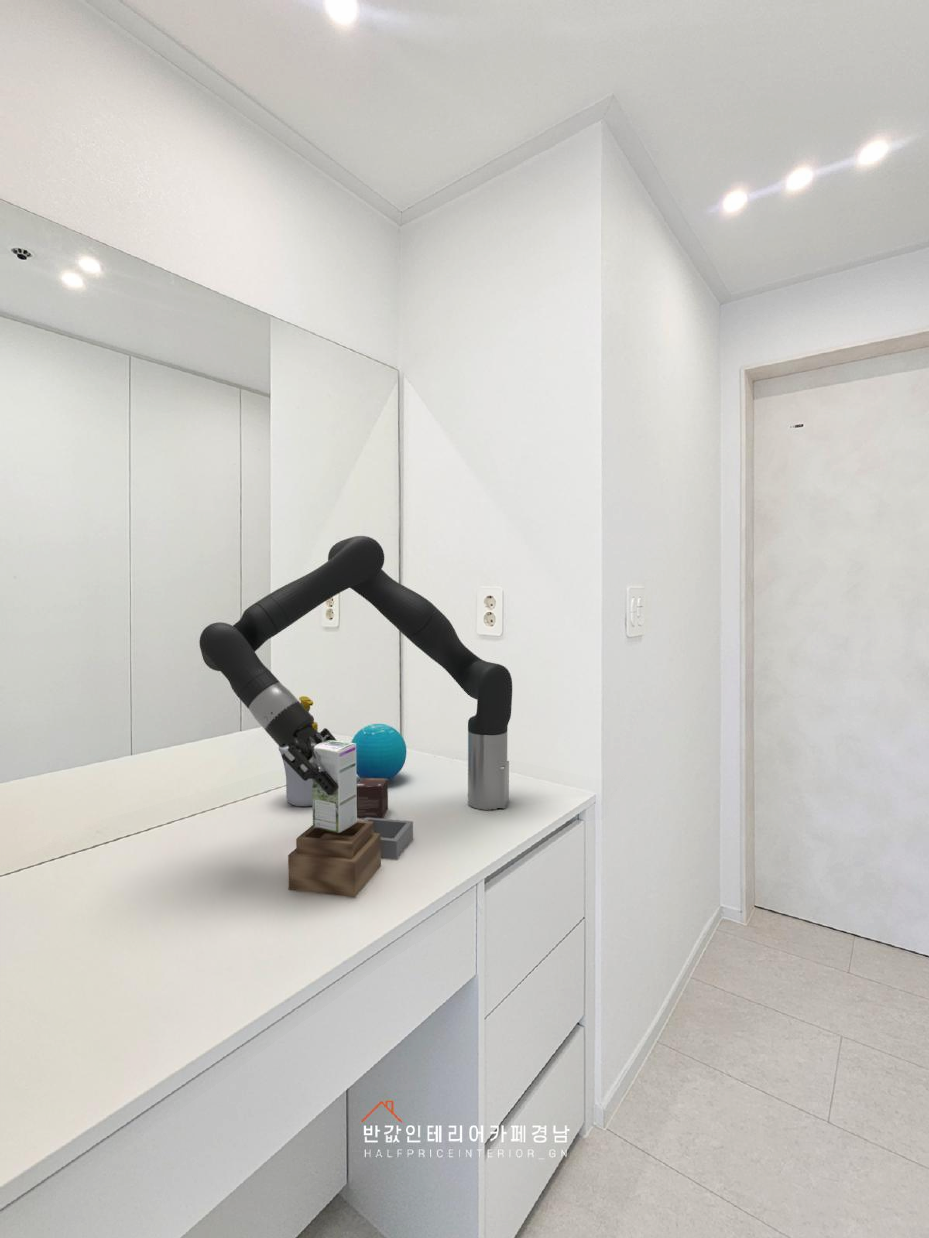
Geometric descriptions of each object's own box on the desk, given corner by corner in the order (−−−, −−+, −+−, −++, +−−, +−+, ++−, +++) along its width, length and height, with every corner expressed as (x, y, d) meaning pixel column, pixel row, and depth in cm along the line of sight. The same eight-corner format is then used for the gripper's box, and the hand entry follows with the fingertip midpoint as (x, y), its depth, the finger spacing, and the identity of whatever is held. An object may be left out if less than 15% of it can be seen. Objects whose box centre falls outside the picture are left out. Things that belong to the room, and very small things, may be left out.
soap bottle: (285, 814, 140) (283, 705, 138) (274, 797, 151) (272, 696, 150) (340, 805, 146) (339, 700, 144) (326, 789, 157) (324, 691, 155)
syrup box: (358, 822, 111) (358, 741, 110) (338, 834, 106) (337, 749, 105) (332, 817, 114) (331, 738, 113) (311, 828, 108) (310, 745, 107)
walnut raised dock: (381, 865, 115) (380, 819, 114) (355, 897, 103) (354, 847, 102) (320, 859, 117) (319, 814, 117) (288, 889, 106) (287, 840, 105)
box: (388, 809, 143) (388, 777, 143) (382, 819, 137) (382, 786, 137) (362, 808, 144) (362, 777, 143) (355, 818, 138) (355, 785, 137)
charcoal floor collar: (412, 838, 127) (412, 821, 127) (396, 859, 117) (396, 841, 117) (366, 833, 129) (366, 817, 129) (346, 854, 119) (346, 836, 119)
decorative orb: (417, 776, 167) (416, 721, 166) (387, 793, 153) (387, 733, 153) (369, 769, 173) (368, 716, 172) (337, 785, 160) (336, 727, 159)
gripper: (273, 708, 103) (340, 784, 101) (313, 693, 117) (373, 759, 115) (245, 738, 104) (310, 813, 103) (288, 719, 118) (346, 785, 117)
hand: (343, 784), depth 109 cm, fingers closed on syrup box, 6 cm apart
